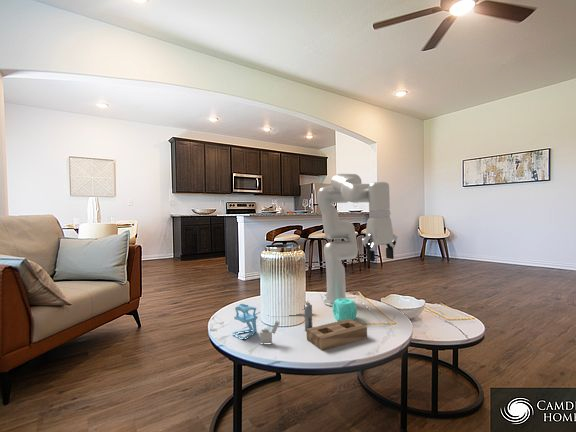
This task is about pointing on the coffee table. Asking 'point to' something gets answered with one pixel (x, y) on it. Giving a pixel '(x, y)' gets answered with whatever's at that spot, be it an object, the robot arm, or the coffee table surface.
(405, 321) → the coffee table surface
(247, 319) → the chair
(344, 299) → the decorative dice
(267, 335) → the lighter
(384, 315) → the coffee table surface
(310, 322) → the peg
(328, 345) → the hole block
